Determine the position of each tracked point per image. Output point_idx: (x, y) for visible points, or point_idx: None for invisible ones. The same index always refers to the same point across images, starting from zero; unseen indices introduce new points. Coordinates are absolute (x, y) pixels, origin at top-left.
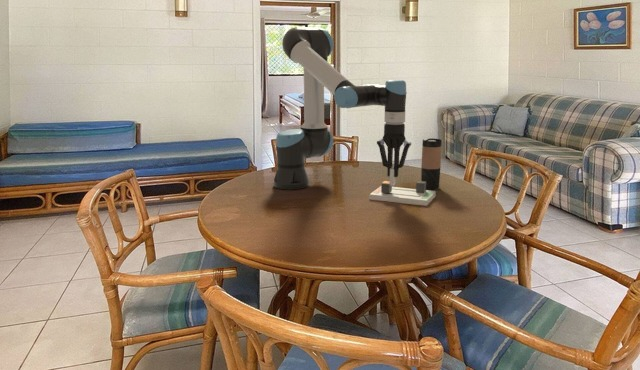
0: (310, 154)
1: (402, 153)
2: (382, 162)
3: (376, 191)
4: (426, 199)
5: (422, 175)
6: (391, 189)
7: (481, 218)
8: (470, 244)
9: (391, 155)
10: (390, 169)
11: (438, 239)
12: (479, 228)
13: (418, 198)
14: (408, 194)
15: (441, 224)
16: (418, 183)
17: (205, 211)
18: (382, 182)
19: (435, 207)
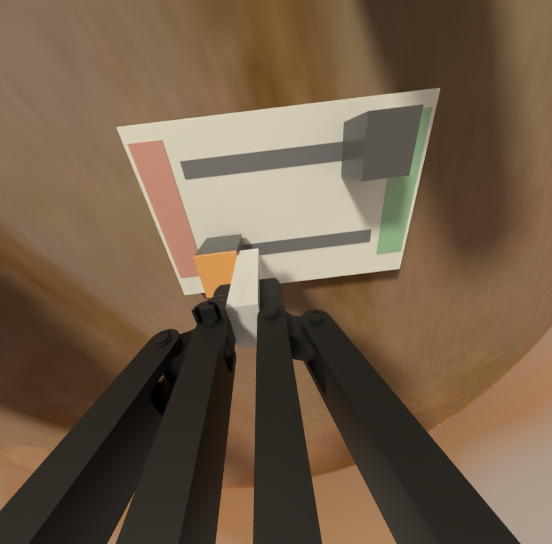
0: None
1: (391, 523)
2: (159, 397)
3: (180, 252)
4: (397, 258)
5: None
6: (241, 241)
7: (536, 290)
8: (467, 399)
9: (214, 465)
10: (241, 344)
11: (420, 404)
12: (505, 345)
13: (367, 260)
14: (318, 227)
15: (428, 358)
16: (374, 178)
17: (11, 467)
18: (205, 289)
19: (417, 261)
